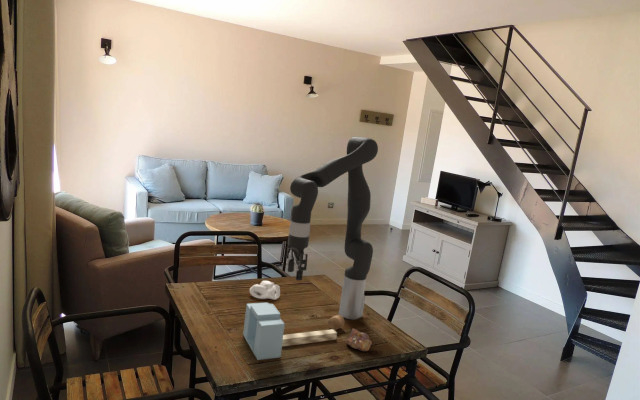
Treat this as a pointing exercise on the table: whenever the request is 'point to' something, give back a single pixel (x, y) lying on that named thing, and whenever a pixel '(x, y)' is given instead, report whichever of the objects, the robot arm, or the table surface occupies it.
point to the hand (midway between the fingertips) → (294, 275)
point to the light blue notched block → (263, 330)
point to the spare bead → (336, 322)
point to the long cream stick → (309, 337)
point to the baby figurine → (265, 290)
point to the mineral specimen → (359, 340)
